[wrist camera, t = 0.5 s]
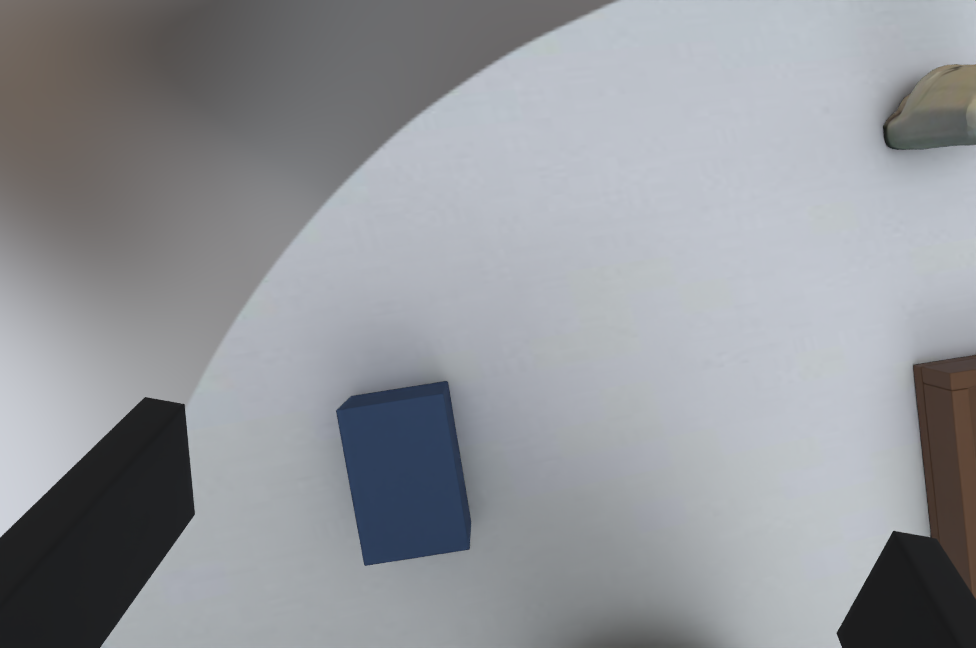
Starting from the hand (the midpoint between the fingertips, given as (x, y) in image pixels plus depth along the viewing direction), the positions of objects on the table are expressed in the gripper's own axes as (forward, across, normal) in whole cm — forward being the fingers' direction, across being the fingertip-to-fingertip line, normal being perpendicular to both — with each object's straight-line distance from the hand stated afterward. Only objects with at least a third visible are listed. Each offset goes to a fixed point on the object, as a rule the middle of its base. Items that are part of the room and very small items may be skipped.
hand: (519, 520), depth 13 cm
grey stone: (+34, -21, -4) cm, 40 cm away
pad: (+23, +6, +18) cm, 30 cm away
